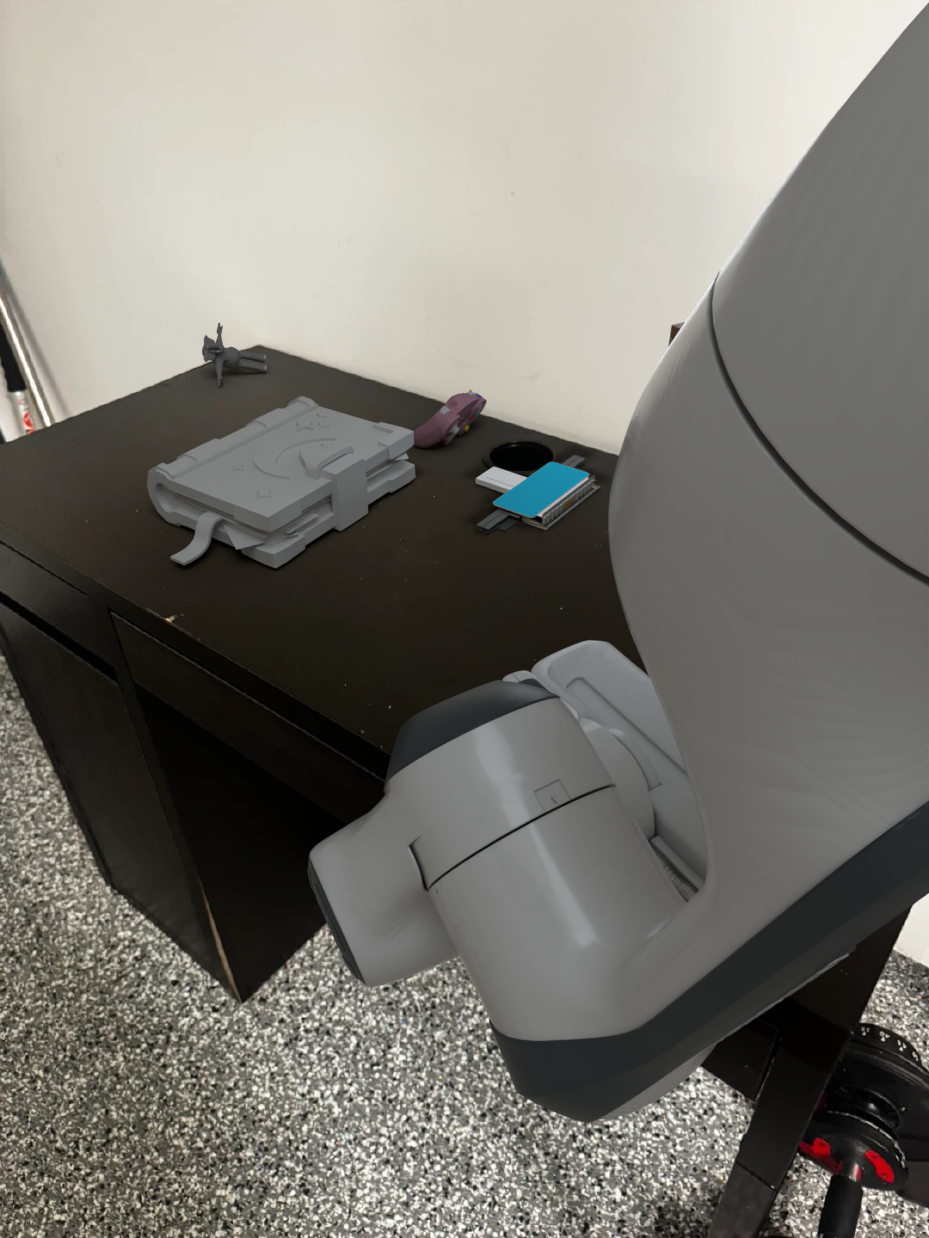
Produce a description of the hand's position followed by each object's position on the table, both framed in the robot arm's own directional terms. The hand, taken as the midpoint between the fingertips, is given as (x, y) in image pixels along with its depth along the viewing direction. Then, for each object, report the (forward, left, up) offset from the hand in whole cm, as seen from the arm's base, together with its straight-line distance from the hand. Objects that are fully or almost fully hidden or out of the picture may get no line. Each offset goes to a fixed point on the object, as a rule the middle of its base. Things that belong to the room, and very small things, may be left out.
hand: (754, 713), depth 57 cm
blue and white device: (+34, -32, -9) cm, 48 cm away
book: (+55, -14, -9) cm, 58 cm away
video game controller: (+49, -39, -9) cm, 64 cm away
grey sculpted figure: (+87, -40, -9) cm, 96 cm away
